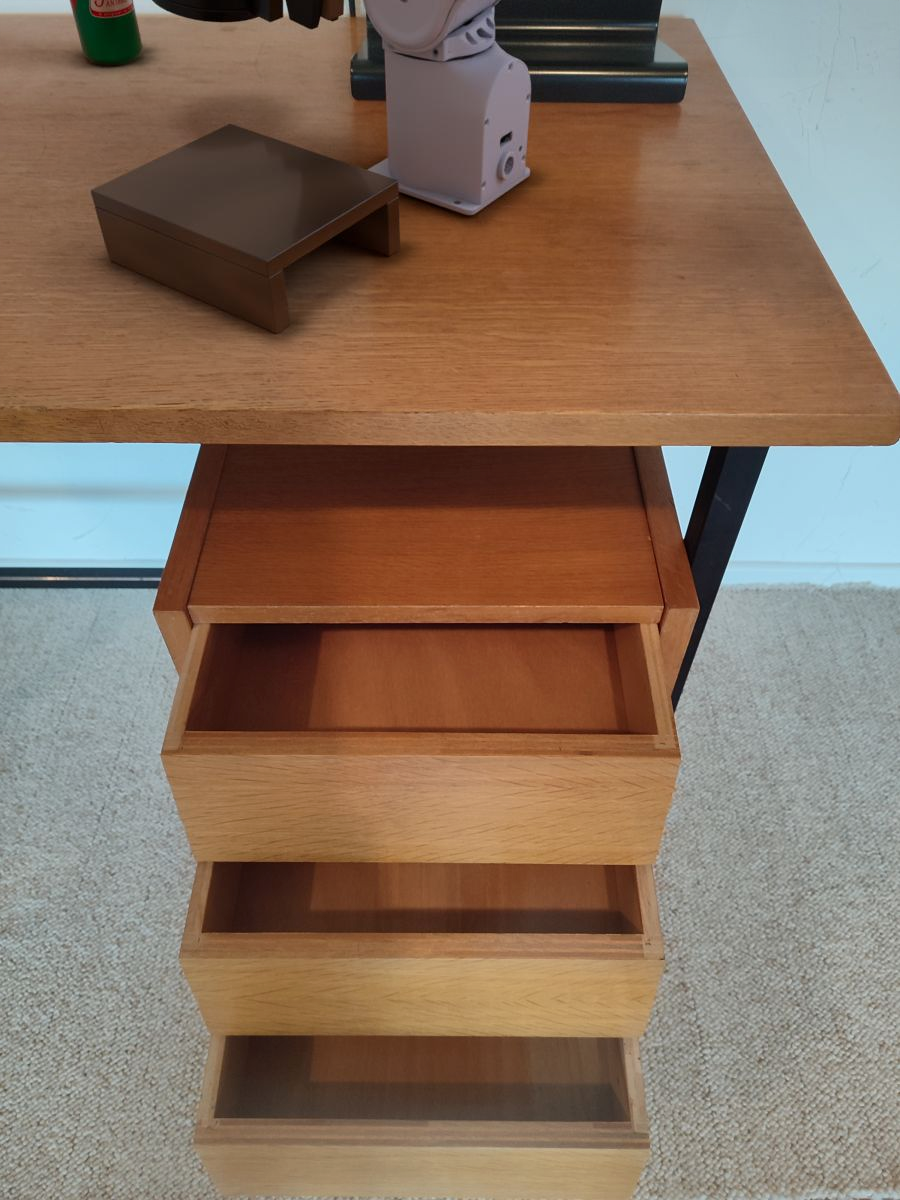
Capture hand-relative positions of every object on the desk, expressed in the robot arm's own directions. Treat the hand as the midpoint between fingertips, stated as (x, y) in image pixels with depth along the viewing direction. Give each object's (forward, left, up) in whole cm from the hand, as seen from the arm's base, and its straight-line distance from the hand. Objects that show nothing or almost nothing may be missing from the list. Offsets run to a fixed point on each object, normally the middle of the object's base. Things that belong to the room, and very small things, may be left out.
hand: (314, 19), depth 63 cm
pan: (+6, 0, -1) cm, 6 cm away
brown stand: (-7, +15, -9) cm, 18 cm away
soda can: (+26, -3, -9) cm, 28 cm away
